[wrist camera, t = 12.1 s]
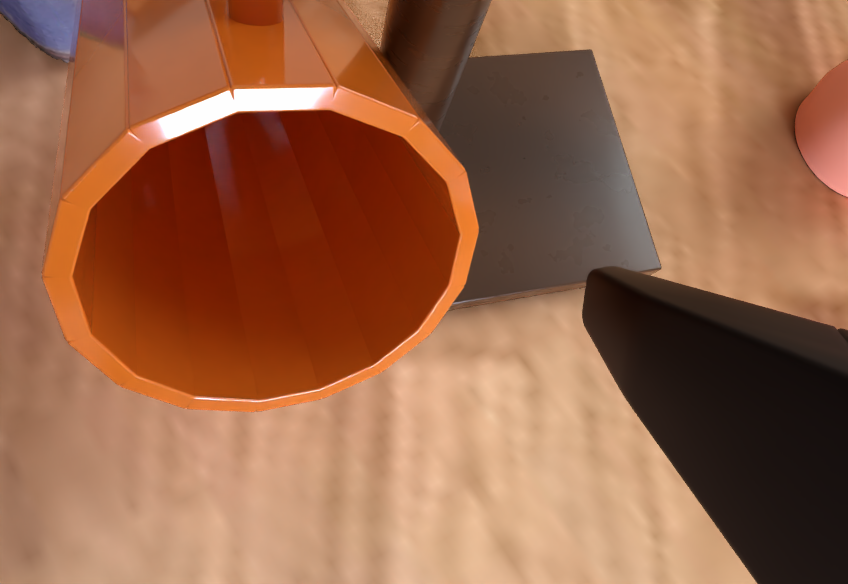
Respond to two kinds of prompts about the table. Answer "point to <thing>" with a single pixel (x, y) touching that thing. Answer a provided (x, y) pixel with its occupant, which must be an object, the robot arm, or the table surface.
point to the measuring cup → (247, 203)
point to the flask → (43, 23)
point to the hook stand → (523, 153)
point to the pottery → (826, 129)
